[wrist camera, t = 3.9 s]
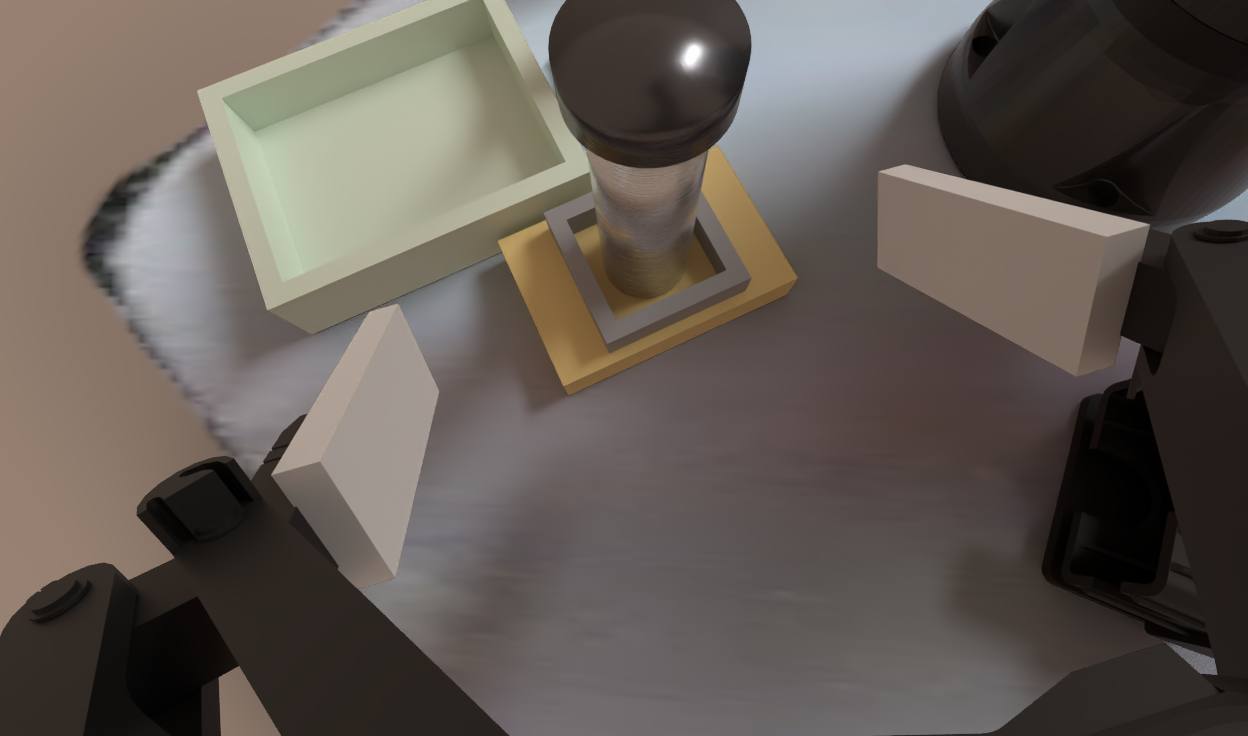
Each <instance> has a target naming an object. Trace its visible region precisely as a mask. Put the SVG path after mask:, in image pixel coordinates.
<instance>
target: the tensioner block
mask: <svg viewBox="0 0 1248 736" xmlns="http://www.w3.org/2000/svg"><path fill="white" fill-rule="evenodd" d="M544 216H545V219H546V220H545V221H542V222H540V223H538V224H535V225H533V226H531V227H529V228H526V229H524V230H522V231H519V232H517V233H515V234H512V235H510V236H508V237H506V238H503V239H501V240H499V241H498V243H499V246H500V248H501V250H502V252H503V254H504V257H505V259H506V261H507V263H508V265H509V268H510V270H511V272H512V274H513V276H514V279H515V281H516V283H517V285H518V287H519V290H520V292H521V294H522V296H523V298H524V301H525V303H526V305H527V307H528V309H529V312H530V314H531V316H532V318H533V321H534V323H535V325H536V327H537V329H538V332H539V334H540V336H541V338H542V340H543V343H544V345H545V347H546V349H547V351H548V354H549V356H550V358H551V360H552V362H553V365H554V367H555V369H556V371H557V373H558V376H559V378H560V380H561V382H562V384H563V387H564V388H565V390H566V391H567V393H568V395H571V394H573V393H576V392H578V391H580V390H582V389H584V388H586V387H589V386H591V385H593V384H595V383H597V382H599V381H601V380H604V379H606V378H608V377H610V376H612V375H614V374H617V373H619V372H621V371H623V370H625V369H627V368H630V367H632V366H634V365H636V364H638V363H640V362H642V361H645V360H647V359H649V358H651V357H653V356H655V355H658V354H660V353H662V352H664V351H666V350H668V349H671V348H673V347H675V346H677V345H679V344H681V343H683V342H686V341H688V340H690V339H692V338H694V337H696V336H699V335H701V334H703V333H705V332H707V331H709V330H711V329H714V328H716V327H718V326H720V325H722V324H724V323H727V322H729V321H731V320H733V319H735V318H737V317H740V316H742V315H744V314H746V313H748V312H750V311H752V310H755V309H757V308H759V307H761V306H763V305H765V304H768V303H770V302H772V301H774V300H776V299H778V298H781V297H783V296H785V295H787V294H788V293H789V291H790V290H791V288H792V287H793V285H794V284H795V282H796V281H797V279H798V277H797V275H796V274H795V272H794V270H793V269H792V267H791V265H790V264H789V262H788V260H787V259H786V257H785V255H784V254H783V252H782V250H781V249H780V247H779V245H778V244H777V242H776V240H775V239H774V237H773V235H772V234H771V232H770V230H769V229H768V227H767V225H766V224H765V222H764V220H763V219H762V217H761V215H760V214H759V212H758V210H757V209H756V207H755V205H754V204H753V202H752V200H751V199H750V197H749V195H748V194H747V192H746V190H745V189H744V187H743V186H742V184H741V182H740V181H739V179H738V177H737V176H736V174H735V172H734V171H733V169H732V167H731V166H730V164H729V162H728V161H727V159H726V157H725V156H724V154H723V152H722V151H721V149H720V147H719V146H718V145H717V146H715V147H713V148H710V149H709V150H708V156H707V161H706V166H705V172H704V177H703V182H702V188H701V193H700V198H699V203H698V209H697V214H696V219H695V225H694V230H693V235H692V240H691V246H690V251H689V256H688V262H687V267H686V270H685V273H684V276H683V277H682V279H681V281H680V282H679V283H678V284H677V286H675V287H674V288H673V289H672V290H671V291H669V292H667V293H666V294H664V295H661V296H658V297H654V298H636V297H632V296H629V295H626V294H624V293H623V292H621V291H619V290H618V289H617V288H616V287H615V286H614V285H613V284H612V283H611V282H610V281H609V279H608V277H607V275H606V273H605V270H604V266H603V259H602V252H601V245H600V238H599V232H598V225H597V218H596V211H595V205H594V198H593V191H592V192H590V193H588V194H585V195H583V196H581V197H579V198H576V199H574V200H572V201H569V202H567V203H565V204H562V205H560V206H558V207H555V208H553V209H551V210H549V211H546V212H544Z"/></svg>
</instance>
